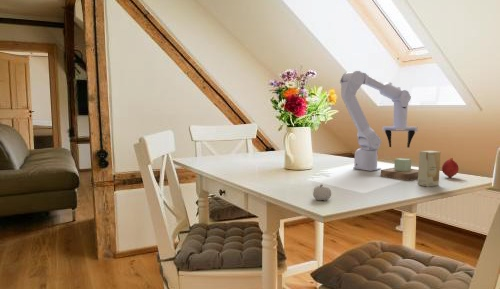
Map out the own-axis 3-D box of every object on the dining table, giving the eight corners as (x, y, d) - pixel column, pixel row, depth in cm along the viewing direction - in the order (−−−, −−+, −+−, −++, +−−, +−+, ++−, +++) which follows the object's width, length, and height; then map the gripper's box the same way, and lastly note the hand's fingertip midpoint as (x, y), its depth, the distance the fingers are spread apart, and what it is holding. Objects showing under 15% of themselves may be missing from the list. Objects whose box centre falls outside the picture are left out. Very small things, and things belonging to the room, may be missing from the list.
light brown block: (380, 176, 159) (380, 169, 158) (397, 172, 166) (397, 166, 166) (408, 180, 149) (408, 174, 149) (424, 176, 157) (425, 170, 156)
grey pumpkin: (321, 203, 116) (321, 186, 116) (308, 199, 121) (308, 183, 120) (335, 200, 120) (335, 183, 119) (322, 197, 124) (322, 180, 124)
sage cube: (394, 170, 158) (394, 159, 157) (400, 168, 161) (400, 158, 160) (404, 171, 154) (405, 160, 154) (410, 170, 157) (411, 159, 157)
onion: (441, 178, 153) (442, 158, 153) (441, 175, 159) (442, 156, 158) (458, 179, 151) (459, 158, 150) (458, 177, 156) (459, 157, 155)
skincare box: (427, 187, 138) (429, 152, 136) (417, 184, 141) (418, 151, 140) (439, 185, 141) (441, 151, 139) (429, 183, 144) (430, 150, 143)
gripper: (383, 117, 175) (382, 147, 176) (418, 117, 171) (417, 148, 172) (382, 116, 181) (381, 146, 183) (416, 116, 177) (415, 146, 179)
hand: (399, 147), depth 178 cm, fingers open, 7 cm apart
